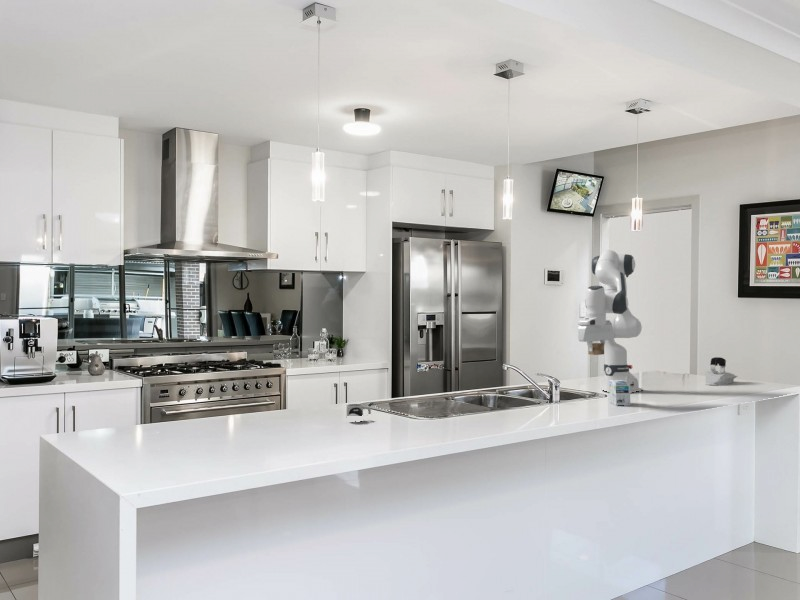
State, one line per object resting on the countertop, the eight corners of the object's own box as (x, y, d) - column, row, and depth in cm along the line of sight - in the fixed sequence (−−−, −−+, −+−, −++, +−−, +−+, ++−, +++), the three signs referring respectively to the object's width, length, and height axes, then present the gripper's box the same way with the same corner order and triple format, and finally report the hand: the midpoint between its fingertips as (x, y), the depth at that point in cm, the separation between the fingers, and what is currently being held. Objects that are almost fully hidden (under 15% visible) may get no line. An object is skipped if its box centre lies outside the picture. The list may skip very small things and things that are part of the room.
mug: (348, 423, 276) (348, 406, 276) (345, 420, 283) (345, 404, 283) (372, 421, 279) (372, 405, 279) (369, 419, 285) (368, 403, 285)
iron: (737, 382, 397) (737, 356, 397) (721, 386, 380) (721, 359, 380) (718, 381, 405) (718, 355, 405) (701, 384, 388) (701, 358, 388)
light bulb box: (630, 406, 313) (630, 382, 313) (615, 406, 314) (615, 382, 314) (623, 402, 324) (623, 379, 324) (609, 402, 324) (608, 379, 324)
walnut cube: (595, 353, 324) (595, 342, 324) (604, 354, 320) (604, 343, 320) (588, 354, 322) (588, 343, 321) (596, 354, 317) (596, 344, 317)
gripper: (606, 319, 329) (606, 349, 329) (575, 321, 318) (575, 351, 318) (616, 320, 324) (616, 349, 324) (586, 321, 313) (586, 352, 313)
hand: (596, 350), depth 321 cm, fingers closed on walnut cube, 5 cm apart
